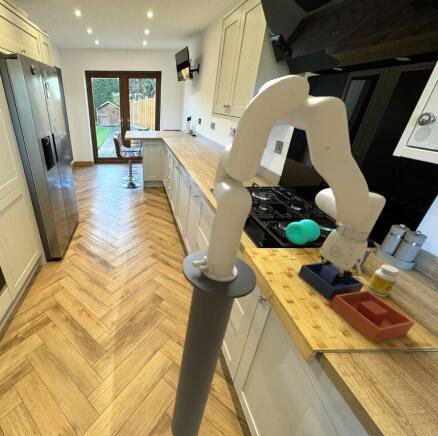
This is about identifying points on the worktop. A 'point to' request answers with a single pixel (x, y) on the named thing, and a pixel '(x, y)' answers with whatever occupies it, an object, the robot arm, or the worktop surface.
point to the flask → (365, 257)
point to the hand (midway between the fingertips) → (329, 278)
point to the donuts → (302, 231)
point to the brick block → (372, 311)
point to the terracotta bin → (347, 308)
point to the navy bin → (327, 290)
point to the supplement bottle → (383, 280)
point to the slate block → (329, 273)
